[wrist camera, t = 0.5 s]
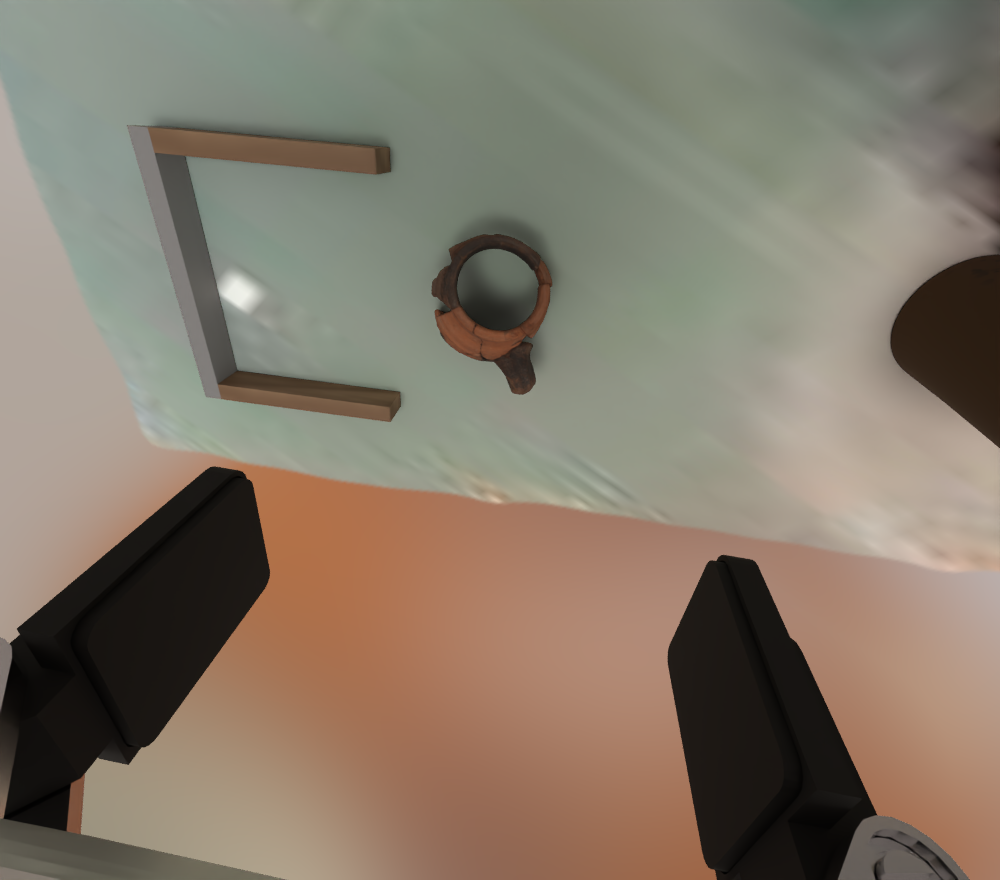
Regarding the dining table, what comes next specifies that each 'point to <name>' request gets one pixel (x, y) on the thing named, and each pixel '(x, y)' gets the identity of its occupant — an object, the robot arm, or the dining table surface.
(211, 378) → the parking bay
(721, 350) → the dining table surface
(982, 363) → the olive oil
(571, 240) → the dining table surface
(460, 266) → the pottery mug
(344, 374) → the dining table surface
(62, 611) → the robot arm
